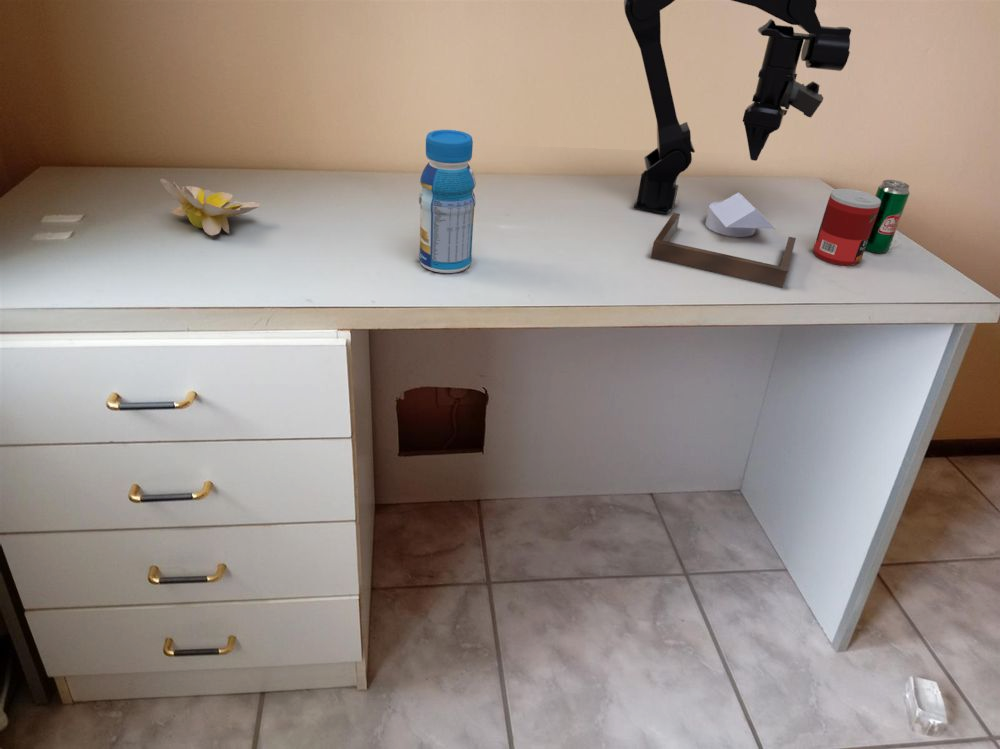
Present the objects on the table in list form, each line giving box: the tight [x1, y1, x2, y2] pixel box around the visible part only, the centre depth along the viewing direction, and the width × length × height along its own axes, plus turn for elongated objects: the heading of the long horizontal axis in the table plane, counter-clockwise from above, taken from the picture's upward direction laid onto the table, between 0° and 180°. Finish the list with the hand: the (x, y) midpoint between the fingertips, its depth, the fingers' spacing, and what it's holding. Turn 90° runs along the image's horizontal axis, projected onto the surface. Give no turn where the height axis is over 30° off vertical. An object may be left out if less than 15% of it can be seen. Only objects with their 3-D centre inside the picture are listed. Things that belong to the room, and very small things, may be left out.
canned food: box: [813, 188, 881, 267], centre depth 132 cm, size 8×8×11 cm
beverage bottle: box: [418, 129, 477, 274], centre depth 117 cm, size 8×8×20 cm
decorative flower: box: [159, 178, 261, 236], centre depth 126 cm, size 15×11×10 cm
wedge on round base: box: [705, 192, 776, 238], centre depth 140 cm, size 9×7×13 cm
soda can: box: [864, 179, 910, 254], centre depth 137 cm, size 5×5×12 cm
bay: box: [650, 212, 797, 288], centre depth 132 cm, size 21×15×3 cm
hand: (756, 154), depth 143 cm, fingers open, 8 cm apart
